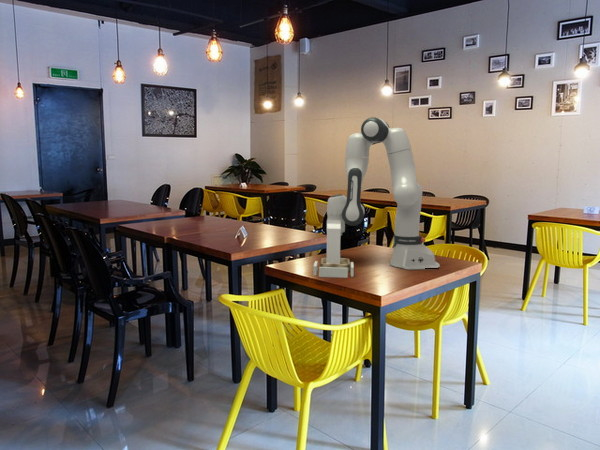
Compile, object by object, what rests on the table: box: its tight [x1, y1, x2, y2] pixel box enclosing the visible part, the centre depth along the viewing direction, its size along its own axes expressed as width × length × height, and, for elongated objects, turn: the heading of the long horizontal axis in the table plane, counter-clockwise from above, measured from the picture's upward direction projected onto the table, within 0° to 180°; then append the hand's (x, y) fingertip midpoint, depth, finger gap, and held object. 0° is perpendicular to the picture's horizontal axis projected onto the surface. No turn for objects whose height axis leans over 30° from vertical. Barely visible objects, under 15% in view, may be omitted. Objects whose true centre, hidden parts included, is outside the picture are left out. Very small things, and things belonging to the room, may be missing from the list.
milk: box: [326, 220, 341, 264], centre depth 219 cm, size 6×6×22 cm
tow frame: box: [320, 251, 351, 272], centre depth 229 cm, size 13×25×4 cm, turn 176°
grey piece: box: [312, 260, 355, 279], centre depth 211 cm, size 17×12×4 cm
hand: (335, 255), depth 239 cm, fingers closed
